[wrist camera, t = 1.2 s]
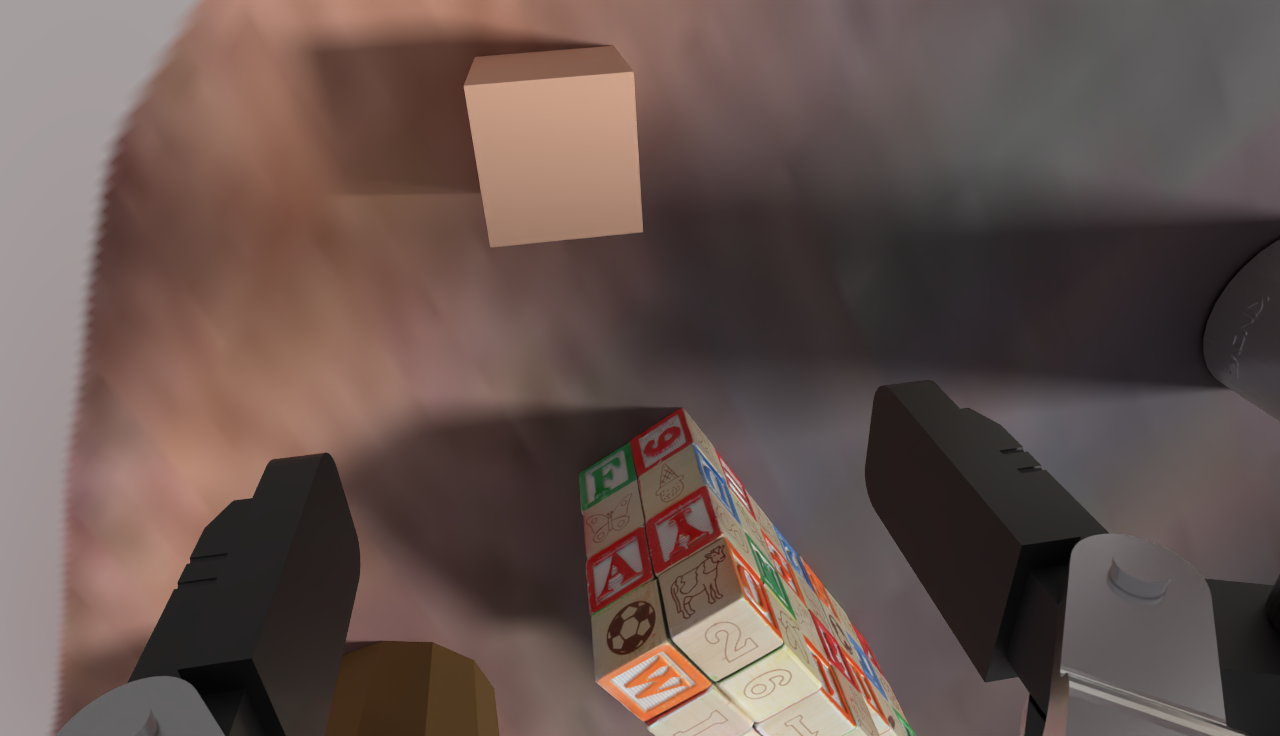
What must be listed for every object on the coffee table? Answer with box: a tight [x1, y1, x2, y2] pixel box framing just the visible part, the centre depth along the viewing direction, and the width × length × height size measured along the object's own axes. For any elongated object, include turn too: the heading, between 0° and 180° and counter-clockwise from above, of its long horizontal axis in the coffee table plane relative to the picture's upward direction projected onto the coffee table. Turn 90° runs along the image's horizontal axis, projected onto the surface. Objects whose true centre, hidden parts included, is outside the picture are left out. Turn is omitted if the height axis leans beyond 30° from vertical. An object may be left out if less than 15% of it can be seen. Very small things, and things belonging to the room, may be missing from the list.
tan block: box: [464, 46, 643, 248], centre depth 27 cm, size 5×5×6 cm
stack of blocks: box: [579, 408, 916, 736], centre depth 37 cm, size 21×6×12 cm, turn 34°
